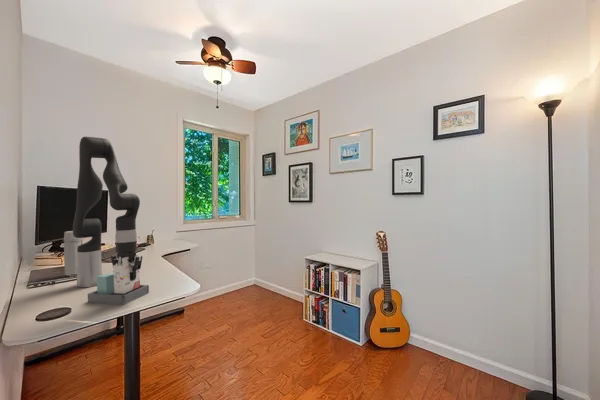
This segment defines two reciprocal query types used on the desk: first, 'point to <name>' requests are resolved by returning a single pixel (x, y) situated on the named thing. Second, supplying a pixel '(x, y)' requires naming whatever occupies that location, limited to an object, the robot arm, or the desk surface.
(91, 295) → the cartridge holder
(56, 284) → the desk surface
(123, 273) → the ink cartridge box
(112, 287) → the teal block
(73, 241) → the water bottle
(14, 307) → the desk surface
